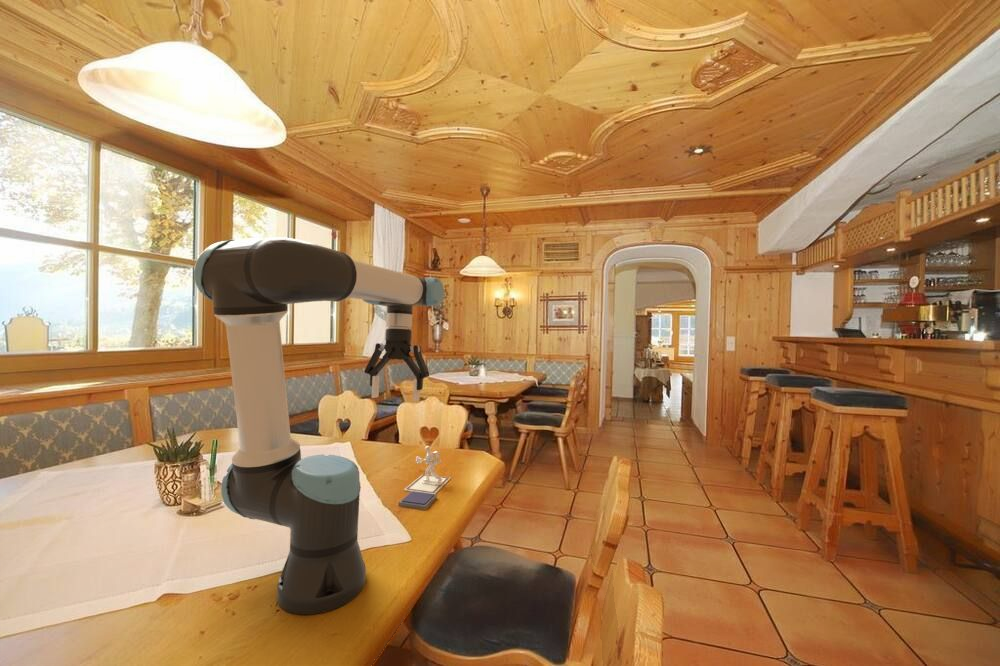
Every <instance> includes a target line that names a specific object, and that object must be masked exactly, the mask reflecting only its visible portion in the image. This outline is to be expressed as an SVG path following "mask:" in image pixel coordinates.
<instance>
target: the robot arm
mask: <svg viewBox="0 0 1000 666" xmlns="http://www.w3.org/2000/svg"><path fill="white" fill-rule="evenodd" d="M193 278H194V282H195V286H196V287H197V289H198V291H199V293H201V294H203V295H204V297H205V298H206V299H208V300H210V301H211V303H212V307H213V316H214V317H215V318H217V320H220V321H221V322H222V323H224V325H225V330H226V338H227V339H226V340H227V346H228V354H229V355H228V357H229V364H230V365H229V366H230V375H231V380H232V381H231V382H232V390H233V398H234V408H235V416H236V424H237V432H238V434H237V435H238V442H239V449H238V450H237V451H236V452H235V453H234V454H233V455H232V457H231V464H230V465H229V466H228V468H227V469H226V472H227V473H226V475H224V476H223V477H222V480H221V481H222V482H221V487H220V492H221V498H222V501H223V502H224V505H225V506H226V507H227V508H228V509H229V510H230V512H232V513H234V514H237V515H240V516H241V517H243V518H247V519H249V520H257V521H262V522H267V523H269V524H270V523H271V524H274V525H277V526H281V527H282V526H283V527H287V528H289V530H290V535H289V536H290V539H289V552H288V555H287V556H286V560H285V563H284V566H283V568H282V571H281V573H280V577H279V579H278V581H277V590H276V591H277V592H276V601H277V604H278V605H279V606H280V608H282V609H283V610H284V611H286V612H288V613H292V614H295V615H316V614H317V615H318V614H322V613H326V612H330V611H333V610H336V609H339V608H340V607H342V606H345V605H346V604H348V603H349V602H350V601H352V600H354V598H356V597H357V596H358V595H359V594H360V593H361V591H362V590H363V589H364V587H365V584H366V579H367V578H366V575H367V567H366V564H365V560H364V559H363V555H362V551H361V547H360V545H359V541H358V536H359V535H358V534H359V533H358V532H359V512H360V510H359V509H360V495H361V494H360V493H361V488H362V487H361V482H360V481H361V480H360V471H359V470H360V469H359V467H358V465H357V464H356V463H355V462H354V461H352V460H351V459H349V458H347V457H344V456H341V455H336V454H329V455H325V454H314V455H309V456H306V457H303V458H302V454H301V453H302V452H301V451H302V450H301V444H300V443H299V441H297V440H295V439H293V438H292V437H291V427H290V426H291V425H290V415H289V408H288V407H289V406H288V396H287V387H286V374H285V365H284V363H285V361H284V355H283V354H284V351H283V343H282V335H281V333H282V332H281V323H280V321H281V320H282V319H283V318H284V317H285V315H286V314H287V313H288V311H289V310H288V305H291V304H301V303H310V302H343V301H345V300H347V299H356V300H362V301H363V302H365V303H366V304H370V305H373V306H375V305H376V306H383V307H386V319H385V321H386V322H385V326H386V327H387V328H386V329H385V338H384V339H385V344H384V343H376V344H375V347H374V352H373V354H371V357H370V359H369V361H368V363H367V364H366V367H365V369H364V373H365V374H368V375H369V385H370V387H371V398H372V399H375V398H379V394H380V393H379V391H380V378H381V377H380V375H379V373H380V372H381V370H383V368H384V367H385V366H386V365H387V363H388V362H389V361H391V360H399V361H400V360H403V361H404V362H405V364H407V366H408V368H409V369H410V370H411V372H412V374H413V375H414V377H415V378H414V379H413V390H412V391H413V392H412V393H413V394H412V402H418V401H420V393H421V392H420V391H421V390H423V388H424V387H423V386H424V385H423V384H424V379H425V378H428V377H430V376H431V375H430V372H429V370H428V367H427V364H426V361H425V360H424V357H423V355H422V346H421V345H418V344H416V345H411V342H412V333H413V331H412V329H411V328H413V309H414V308H413V307H414V306H415V307H416V306H417V307H437V306H439V305H440V304H441V303H442V302H443V300H444V296H445V295H444V294H445V288H444V284H443V282H442V280H441V279H440V278H438V277H430V276H428V277H422V276H418V275H417V276H416V275H412V274H409V273H404V272H401V271H397V270H393V269H389V268H385V267H380V266H378V265H374V264H369V263H366V262H362V261H361V262H360V261H358V260H354V259H353V258H352V257H351V256H350V254H348V253H346V252H343V251H341V250H336V249H333V248H329V247H326V246H322V245H319V244H316V243H312V242H308V241H304V240H300V239H296V238H290V237H283V236H282V237H277V236H275V237H266V238H265V237H264V238H263V237H261V238H230V239H229V240H223V241H218V242H215V243H212V244H210V245H209V246H207V247H206V248H204V250H203V251H202V252H201V253H200V254H199V255H198V257H197V259H196V262H195V264H194V268H193ZM383 351H385V352H384V354H383ZM411 352H412V353H413V357H414V359H415V361H416V362H415V361H414V360H413V357H412V356H411V354H410V353H411ZM382 354H383V356H382V358H381V355H382ZM380 358H381V359H380ZM379 359H380V360H379ZM416 363H417V364H416Z"/></svg>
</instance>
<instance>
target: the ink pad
mask: <svg viewBox="0 0 1000 666" xmlns="http://www.w3.org/2000/svg"><path fill="white" fill-rule="evenodd" d="M436 500H437V494H428V493H421V492H414V491H411V492H410V491H409V492H408V494H406V495H405V496H404V497H403V498H401V500H400V501H399V502H398V507H403V508H410V509H415V510H417V509H418V510H425V511H426V510H427V509H428V508H429V507H430V506H431V505H432V503H434V502H435V501H436Z"/></svg>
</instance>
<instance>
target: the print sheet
mask: <svg viewBox="0 0 1000 666" xmlns="http://www.w3.org/2000/svg"><path fill="white" fill-rule="evenodd" d="M438 476H439V477H440V478H442V482H443V484H442V485H437V486H435V485H432V484H423V483H421V482H422V481H423V480H424V479H426V474H424V473H423V474H421V475H420V476H419V477H418V478H416V479H414V480H413V482H411V483H410V484H409V485H407V486H406V487H405V488H404V489H403V491H405V492H409V493H410V492H411V491H414V492H421V493H428V494H435V495H437V493H438V492H439V491H440V490H441V489H442V488H443V487H444V486H445V485H446V484H447V483H448V482H449V481H450V480H451V479H452V478H451V477H449V476H441V475H438ZM429 479H430V481H438V479H436V478H435V477H433V476H432V475H431V474H430V475H429Z"/></svg>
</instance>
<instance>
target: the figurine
mask: <svg viewBox="0 0 1000 666" xmlns="http://www.w3.org/2000/svg"><path fill="white" fill-rule="evenodd" d="M424 450H425V452H426V453H427V454H426V455H425V458H422V457H420V456H419V455H417V456H416V457H415V464H422V463H423V461H425V462H424V463H425V464H426V465H428V466H427V467H426V468H425V469H424V473H425V474H426V479H424V480H423V481H422V482H421V483H423V484H432V485H435V486H437V485H442V484H443V482H442V478H440V477H439V476H440V475H439V474H437V473H436V472H435V467H436V466H437V465H438V463H439V464H442V459H440V452H439V451H438V450H436V451H431V446H430V445H426V446H425V447H424ZM435 456H436V458H434V457H435ZM429 475H432V476H433V477H435V478H436V479H438V481H430V479H429Z"/></svg>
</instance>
